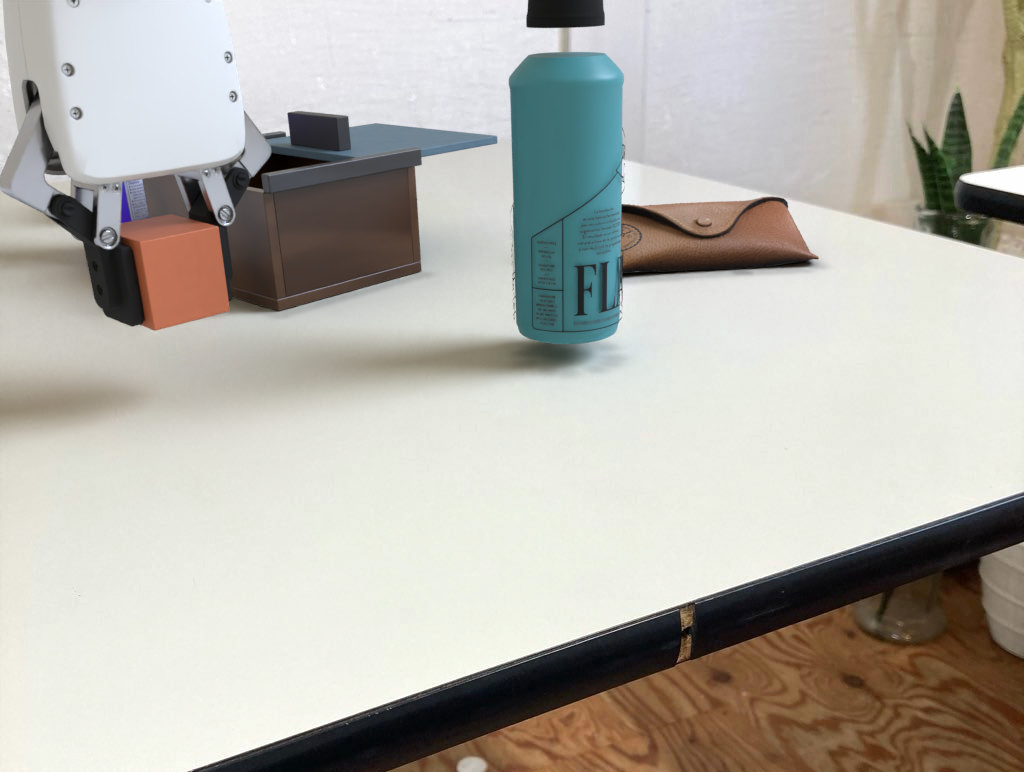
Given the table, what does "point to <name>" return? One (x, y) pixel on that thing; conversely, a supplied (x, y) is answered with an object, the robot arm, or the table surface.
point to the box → (315, 225)
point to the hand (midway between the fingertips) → (169, 305)
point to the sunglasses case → (710, 236)
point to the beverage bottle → (567, 184)
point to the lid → (365, 138)
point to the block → (177, 269)
